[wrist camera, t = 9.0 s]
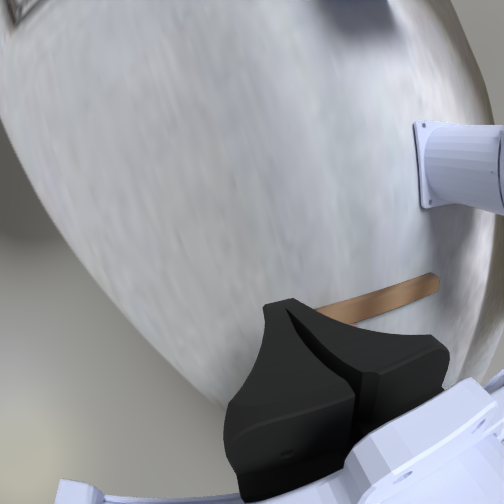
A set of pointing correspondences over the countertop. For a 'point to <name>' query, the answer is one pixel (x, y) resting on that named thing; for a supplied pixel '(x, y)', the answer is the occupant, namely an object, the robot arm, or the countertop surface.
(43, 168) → the countertop surface
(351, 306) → the walnut guide channel
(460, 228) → the countertop surface
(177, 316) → the countertop surface
